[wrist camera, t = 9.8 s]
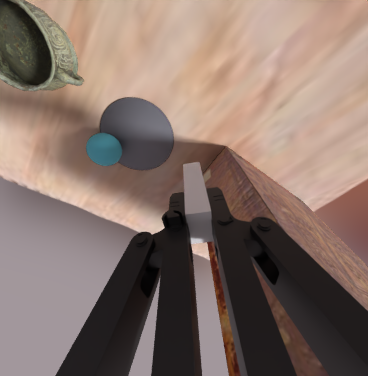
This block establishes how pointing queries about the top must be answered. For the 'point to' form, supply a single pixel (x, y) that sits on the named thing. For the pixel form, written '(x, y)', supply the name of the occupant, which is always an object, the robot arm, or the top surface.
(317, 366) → the book
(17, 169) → the top surface
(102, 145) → the ball
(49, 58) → the vessel
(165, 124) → the disc
